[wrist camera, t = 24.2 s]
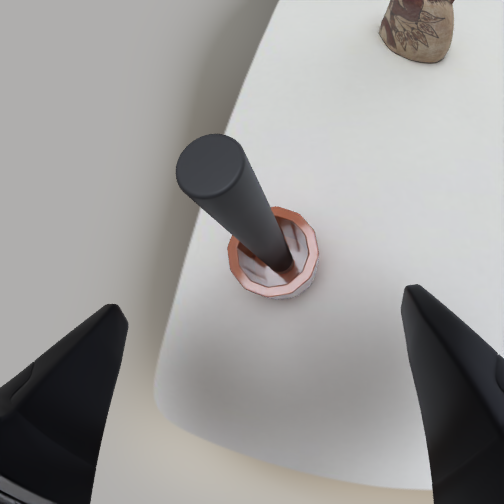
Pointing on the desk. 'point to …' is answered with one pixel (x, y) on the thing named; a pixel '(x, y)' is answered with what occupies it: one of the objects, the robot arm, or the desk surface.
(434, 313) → the robot arm
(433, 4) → the figurine
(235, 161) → the dark grey rod
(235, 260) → the stylus holder
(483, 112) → the desk surface
